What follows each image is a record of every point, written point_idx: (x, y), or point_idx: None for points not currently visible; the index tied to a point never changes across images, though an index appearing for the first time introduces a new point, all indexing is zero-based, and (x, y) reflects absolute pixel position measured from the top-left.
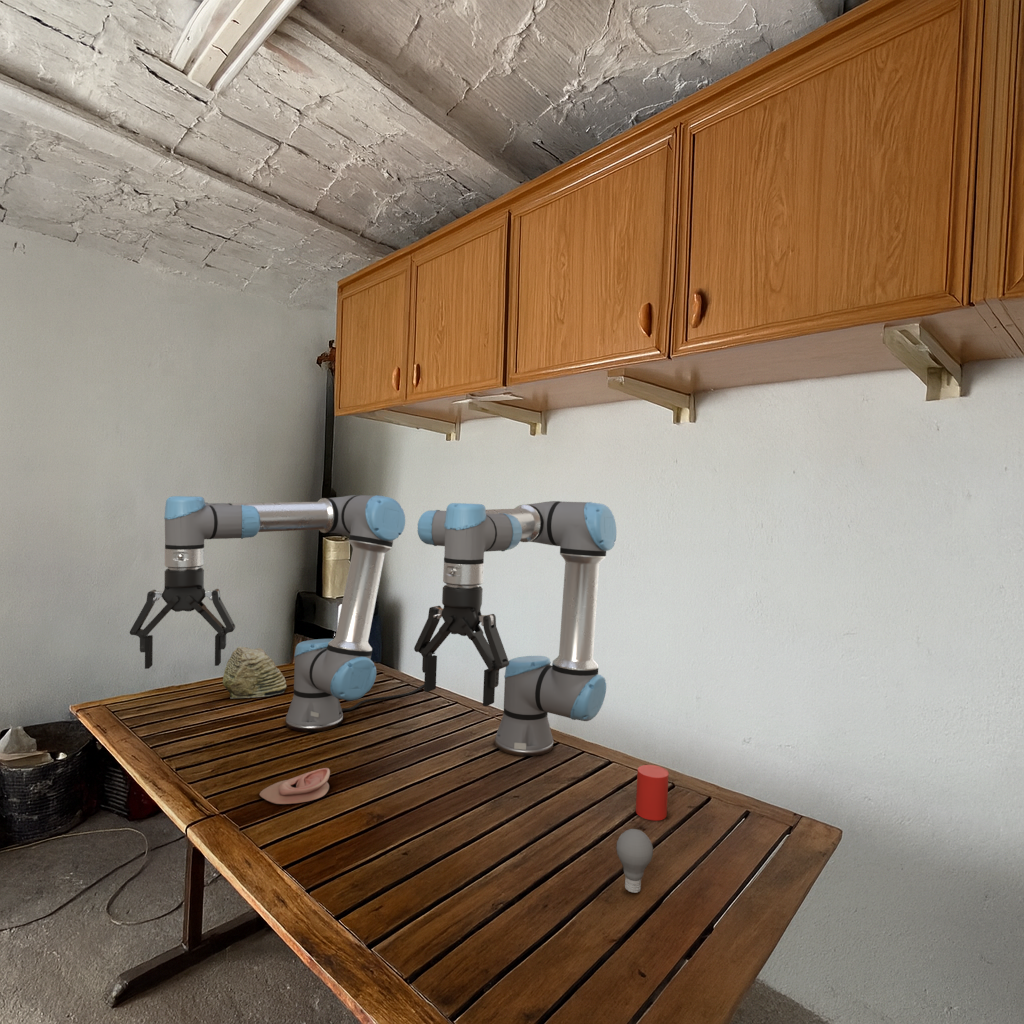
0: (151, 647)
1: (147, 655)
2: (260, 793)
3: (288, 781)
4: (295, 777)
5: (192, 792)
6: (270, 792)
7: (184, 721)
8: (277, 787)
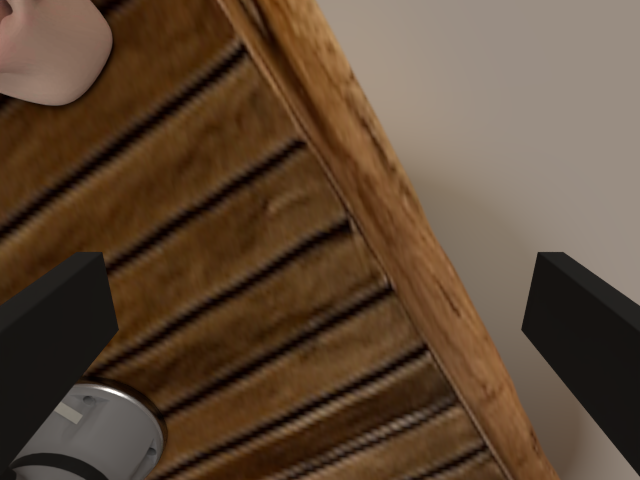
0: (612, 405)
1: (610, 300)
2: (106, 28)
3: (17, 22)
4: (8, 49)
5: (283, 86)
6: (71, 8)
7: (384, 465)
8: (48, 9)
